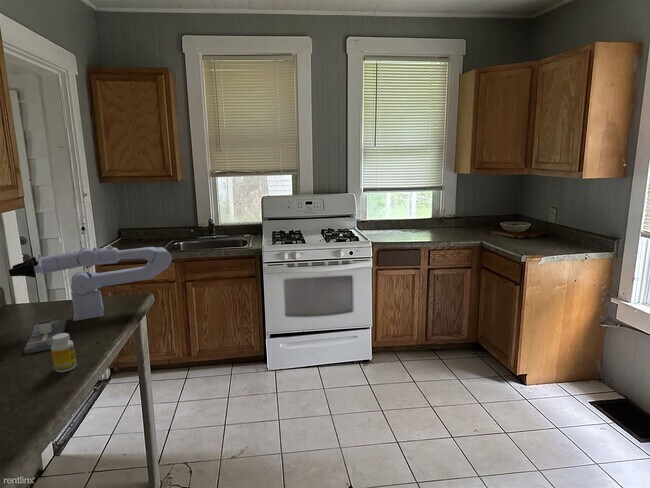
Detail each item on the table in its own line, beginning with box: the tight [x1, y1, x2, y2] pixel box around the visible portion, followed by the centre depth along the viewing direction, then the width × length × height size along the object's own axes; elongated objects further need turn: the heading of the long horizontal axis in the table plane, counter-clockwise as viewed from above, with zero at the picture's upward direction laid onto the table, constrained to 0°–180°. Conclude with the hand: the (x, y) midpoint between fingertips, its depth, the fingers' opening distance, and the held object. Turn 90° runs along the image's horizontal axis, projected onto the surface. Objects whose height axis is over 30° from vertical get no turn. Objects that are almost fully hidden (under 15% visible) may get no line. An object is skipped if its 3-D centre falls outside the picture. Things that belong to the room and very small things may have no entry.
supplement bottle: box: [50, 332, 78, 373], centre depth 120 cm, size 5×5×10 cm
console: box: [23, 318, 68, 355], centre depth 142 cm, size 9×22×3 cm, turn 25°
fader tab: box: [37, 317, 52, 334], centre depth 141 cm, size 3×3×4 cm
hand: (11, 271), depth 146 cm, fingers open, 7 cm apart
